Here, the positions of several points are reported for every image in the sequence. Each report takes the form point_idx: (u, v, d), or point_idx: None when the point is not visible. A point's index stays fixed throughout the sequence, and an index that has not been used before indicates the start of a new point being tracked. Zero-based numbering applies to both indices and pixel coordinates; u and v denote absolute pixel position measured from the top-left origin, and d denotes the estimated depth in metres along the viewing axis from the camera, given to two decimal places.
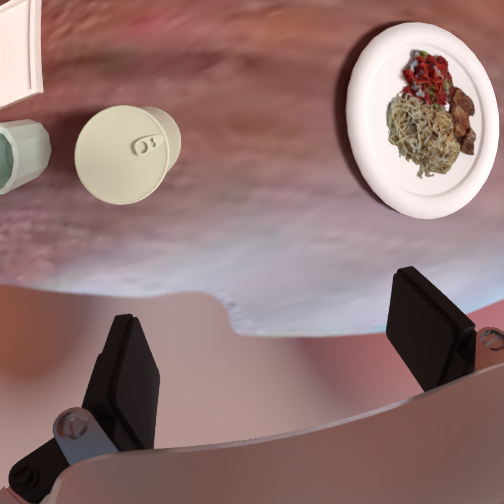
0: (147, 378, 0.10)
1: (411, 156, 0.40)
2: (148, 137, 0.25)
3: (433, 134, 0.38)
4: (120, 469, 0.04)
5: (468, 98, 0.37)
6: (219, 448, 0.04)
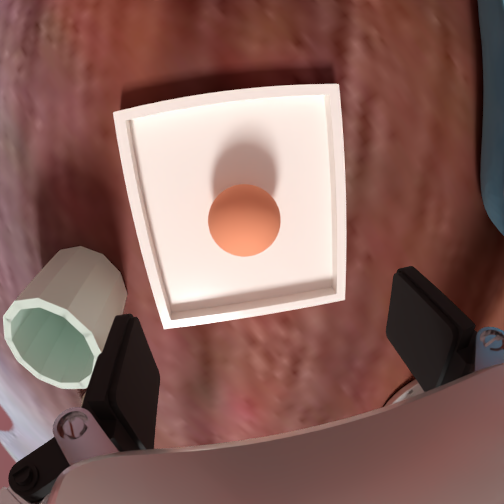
0: (147, 378, 0.10)
1: None
2: None
3: None
4: (120, 469, 0.04)
5: None
6: (219, 448, 0.04)
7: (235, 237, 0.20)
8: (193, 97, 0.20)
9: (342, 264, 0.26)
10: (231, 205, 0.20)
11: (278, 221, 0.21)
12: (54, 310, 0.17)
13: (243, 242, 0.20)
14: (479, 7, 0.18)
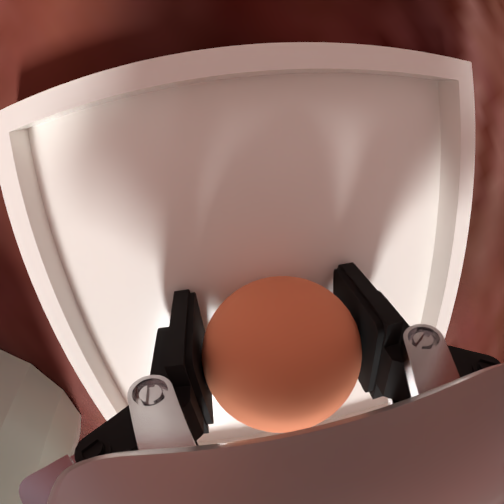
0: None
1: None
2: None
3: None
4: (120, 469, 0.04)
5: None
6: (219, 448, 0.04)
7: (269, 422, 0.08)
8: (157, 62, 0.07)
9: None
10: (260, 357, 0.08)
11: (360, 366, 0.09)
12: None
13: (286, 428, 0.08)
14: None
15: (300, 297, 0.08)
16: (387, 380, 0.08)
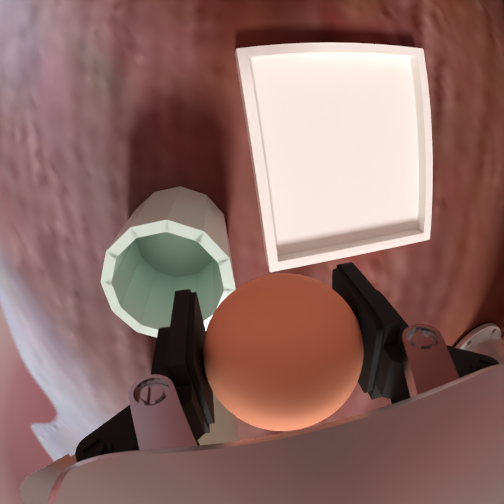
0: None
1: None
2: None
3: None
4: (120, 469, 0.04)
5: None
6: (219, 448, 0.04)
7: (271, 420, 0.08)
8: (313, 44, 0.20)
9: (429, 204, 0.26)
10: (262, 354, 0.08)
11: (362, 363, 0.09)
12: (186, 233, 0.18)
13: (288, 426, 0.08)
14: None
15: (302, 294, 0.08)
16: (386, 380, 0.08)
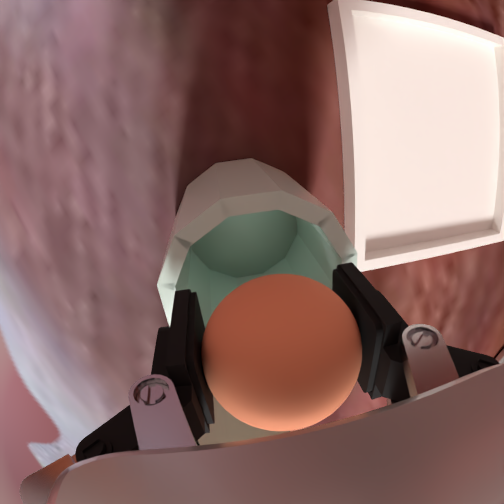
0: None
1: None
2: None
3: None
4: (120, 469, 0.04)
5: None
6: (219, 448, 0.04)
7: (269, 420, 0.08)
8: (416, 11, 0.14)
9: None
10: (260, 354, 0.08)
11: (360, 364, 0.09)
12: (307, 213, 0.12)
13: (286, 426, 0.08)
14: None
15: (300, 294, 0.08)
16: (386, 380, 0.08)
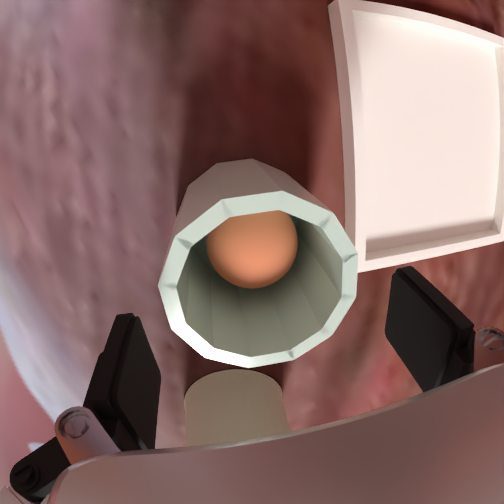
0: (148, 377, 0.10)
1: None
2: None
3: None
4: (120, 469, 0.04)
5: None
6: (219, 448, 0.04)
7: (247, 267, 0.16)
8: (416, 12, 0.14)
9: None
10: (240, 226, 0.16)
11: (297, 243, 0.17)
12: (308, 214, 0.12)
13: (257, 273, 0.16)
14: None
15: None
16: None
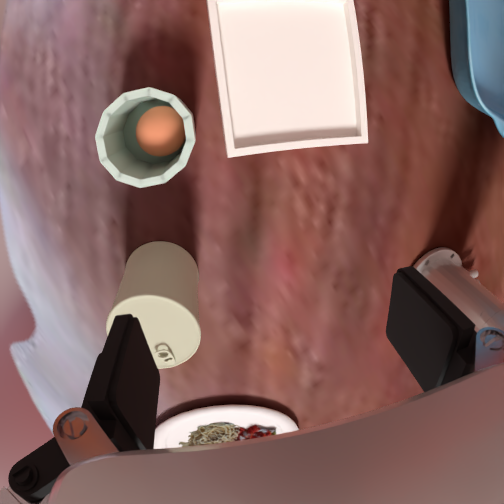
0: (147, 378, 0.10)
1: (192, 438, 0.53)
2: (172, 357, 0.30)
3: None
4: (120, 469, 0.04)
5: None
6: (219, 448, 0.04)
7: (159, 134, 0.27)
8: None
9: (364, 112, 0.32)
10: (155, 114, 0.26)
11: None
12: (162, 96, 0.23)
13: (165, 137, 0.27)
14: None
15: (164, 106, 0.27)
16: None
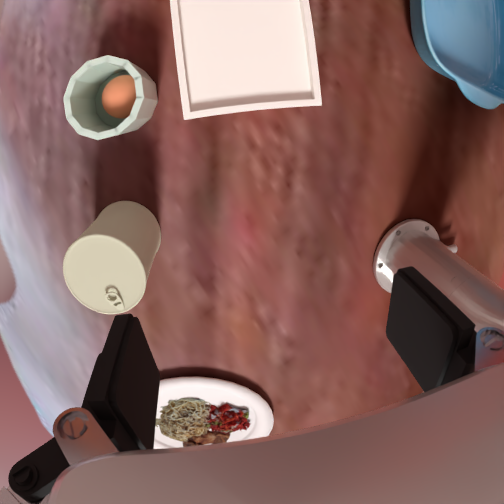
0: (147, 378, 0.10)
1: (164, 414, 0.54)
2: (120, 301, 0.31)
3: (186, 426, 0.55)
4: (120, 469, 0.04)
5: (224, 442, 0.59)
6: (219, 448, 0.04)
7: (118, 97, 0.28)
8: None
9: (316, 76, 0.33)
10: (116, 81, 0.28)
11: None
12: (117, 62, 0.24)
13: (123, 99, 0.28)
14: None
15: (126, 75, 0.29)
16: None
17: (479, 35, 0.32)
